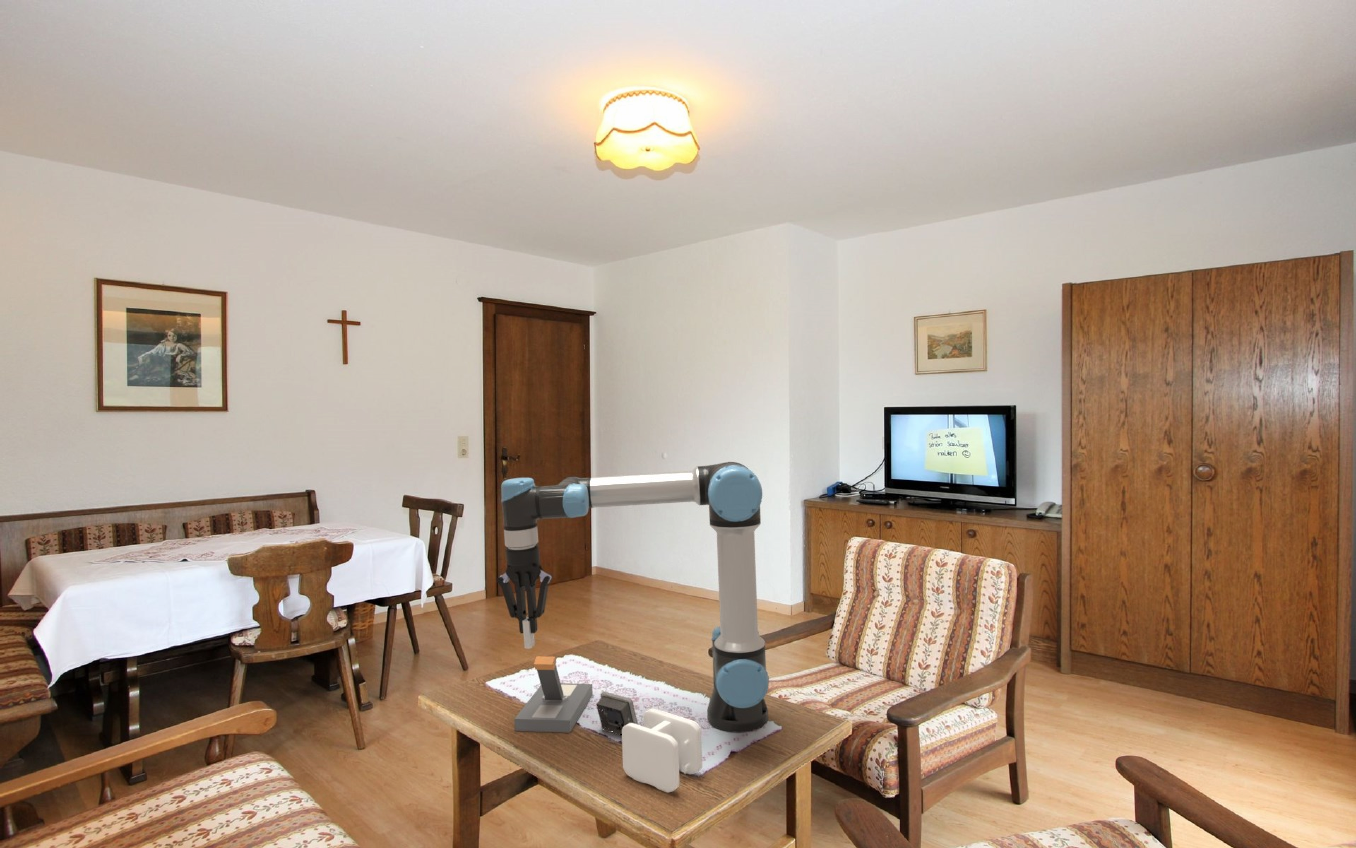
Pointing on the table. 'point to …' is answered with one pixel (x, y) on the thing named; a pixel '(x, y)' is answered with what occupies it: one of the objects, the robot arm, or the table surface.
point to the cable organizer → (661, 749)
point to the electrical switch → (615, 712)
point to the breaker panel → (554, 710)
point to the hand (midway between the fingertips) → (529, 646)
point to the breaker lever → (549, 677)
